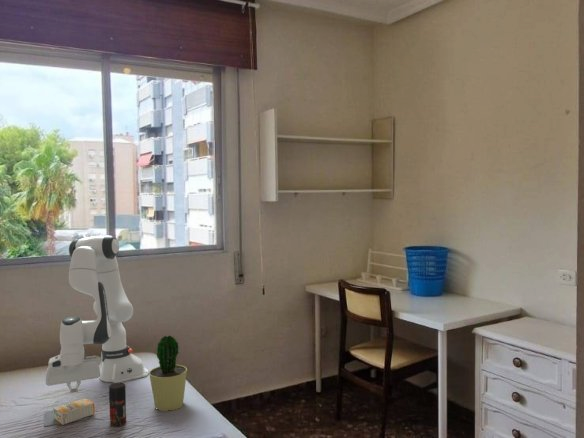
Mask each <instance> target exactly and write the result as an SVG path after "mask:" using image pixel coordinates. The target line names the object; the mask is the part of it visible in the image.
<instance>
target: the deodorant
mask: <svg viewBox="0 0 584 438" xmlns="http://www.w3.org/2000/svg"><path fill="white" fill-rule="evenodd" d="M126 394H127V393H126V384H125V382H120V383H112V384H110V385H109V386H108V398H109V399H108V403H109V406H108V407H109V425H110V427H112V428H120V427H123V426H125V425H126V424H127V401H126V397H127V396H126Z"/></svg>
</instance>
